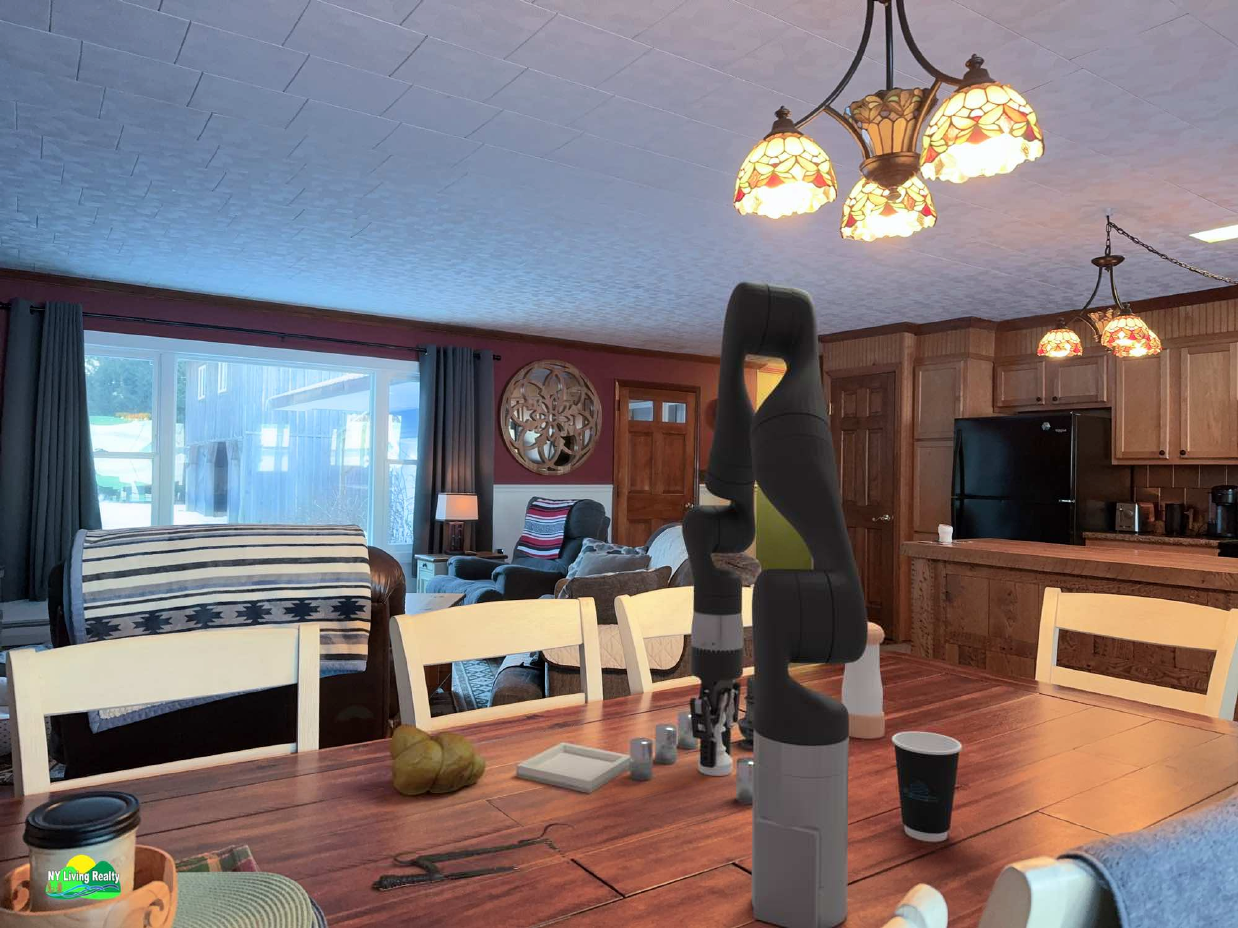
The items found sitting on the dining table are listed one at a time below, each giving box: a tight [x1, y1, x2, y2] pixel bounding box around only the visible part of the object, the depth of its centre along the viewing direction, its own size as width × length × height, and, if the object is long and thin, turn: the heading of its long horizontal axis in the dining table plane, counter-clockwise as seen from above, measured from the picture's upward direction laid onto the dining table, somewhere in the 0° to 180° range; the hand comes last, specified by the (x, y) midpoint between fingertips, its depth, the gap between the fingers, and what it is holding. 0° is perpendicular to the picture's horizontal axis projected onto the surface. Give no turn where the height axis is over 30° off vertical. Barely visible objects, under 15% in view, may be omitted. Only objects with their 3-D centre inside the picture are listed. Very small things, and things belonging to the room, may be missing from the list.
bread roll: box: [389, 723, 486, 796], centre depth 114 cm, size 13×10×8 cm
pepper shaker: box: [841, 619, 886, 740], centre depth 141 cm, size 7×7×19 cm
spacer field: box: [629, 710, 753, 805], centre depth 122 cm, size 19×19×5 cm
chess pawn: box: [697, 712, 734, 777], centre depth 122 cm, size 5×5×9 cm
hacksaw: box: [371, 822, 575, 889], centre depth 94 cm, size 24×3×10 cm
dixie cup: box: [891, 731, 963, 843], centre depth 101 cm, size 8×8×11 cm
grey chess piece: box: [736, 673, 754, 751], centre depth 133 cm, size 6×6×12 cm
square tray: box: [515, 742, 630, 794], centre depth 120 cm, size 12×12×2 cm
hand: (715, 760), depth 122 cm, fingers closed on chess pawn, 5 cm apart
